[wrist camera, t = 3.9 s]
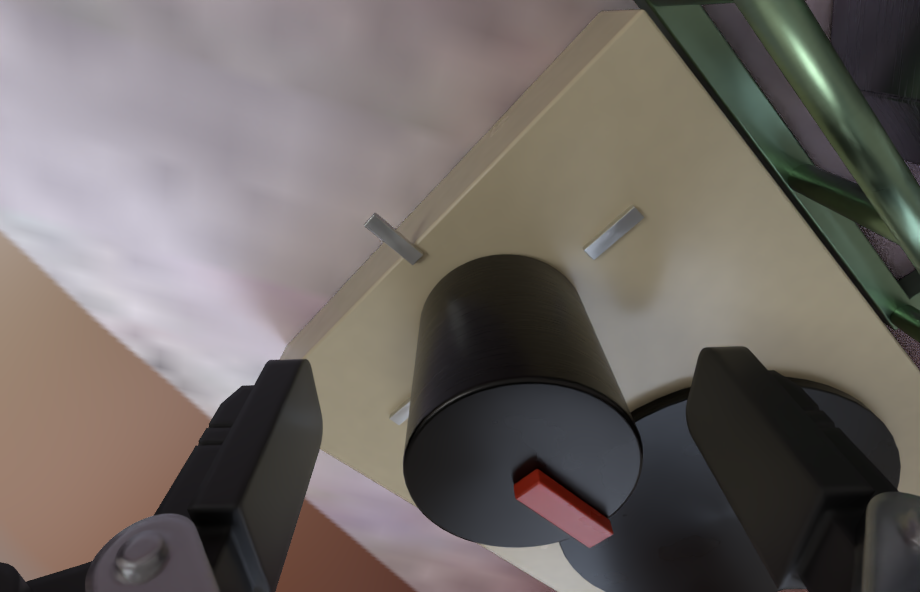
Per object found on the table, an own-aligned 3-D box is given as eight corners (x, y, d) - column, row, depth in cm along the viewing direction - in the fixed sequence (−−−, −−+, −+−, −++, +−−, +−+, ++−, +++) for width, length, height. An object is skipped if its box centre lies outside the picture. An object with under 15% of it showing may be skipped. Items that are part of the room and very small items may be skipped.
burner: (781, 306, 12) (790, 314, 12) (946, 498, 15) (958, 509, 15) (487, 508, 16) (488, 520, 15) (675, 628, 19) (679, 640, 19)
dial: (386, 330, 12) (349, 494, 8) (503, 217, 11) (532, 343, 7) (500, 414, 14) (520, 592, 9) (617, 324, 12) (701, 485, 8)
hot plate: (255, 326, 16) (213, 392, 13) (570, -31, 11) (607, -46, 8) (627, 574, 22) (651, 653, 19) (923, 412, 18) (1009, 485, 15)
